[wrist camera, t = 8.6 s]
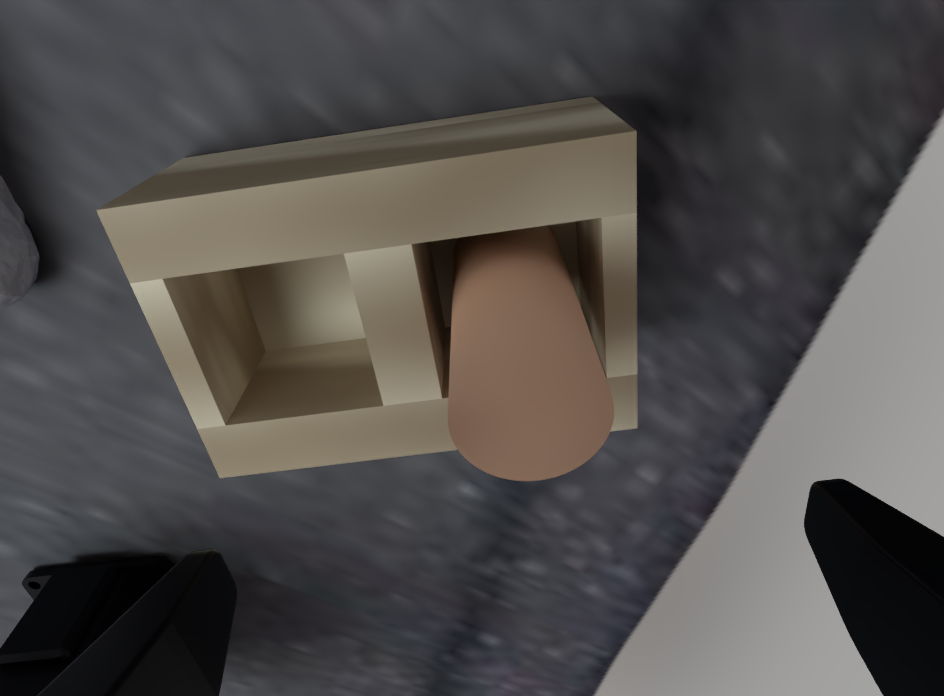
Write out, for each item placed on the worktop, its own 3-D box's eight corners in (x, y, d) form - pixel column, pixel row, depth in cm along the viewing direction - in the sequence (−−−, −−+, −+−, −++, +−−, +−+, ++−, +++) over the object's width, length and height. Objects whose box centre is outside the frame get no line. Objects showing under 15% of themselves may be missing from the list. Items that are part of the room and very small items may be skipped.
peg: (563, 296, 19) (616, 470, 12) (463, 310, 20) (461, 489, 13) (554, 198, 18) (610, 336, 11) (445, 215, 18) (433, 360, 11)
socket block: (601, 339, 21) (637, 428, 17) (267, 382, 22) (219, 478, 18) (592, 96, 17) (636, 130, 13) (183, 157, 18) (96, 210, 14)
